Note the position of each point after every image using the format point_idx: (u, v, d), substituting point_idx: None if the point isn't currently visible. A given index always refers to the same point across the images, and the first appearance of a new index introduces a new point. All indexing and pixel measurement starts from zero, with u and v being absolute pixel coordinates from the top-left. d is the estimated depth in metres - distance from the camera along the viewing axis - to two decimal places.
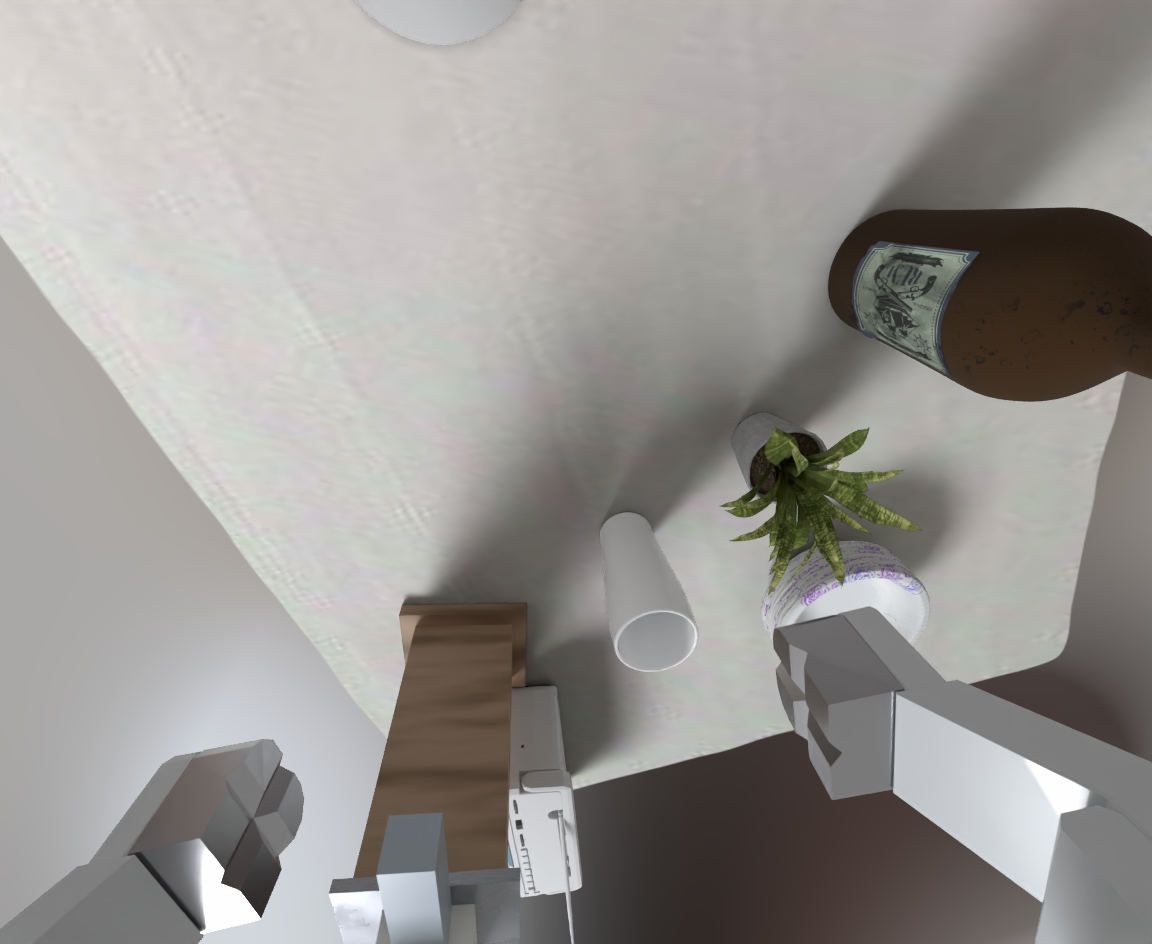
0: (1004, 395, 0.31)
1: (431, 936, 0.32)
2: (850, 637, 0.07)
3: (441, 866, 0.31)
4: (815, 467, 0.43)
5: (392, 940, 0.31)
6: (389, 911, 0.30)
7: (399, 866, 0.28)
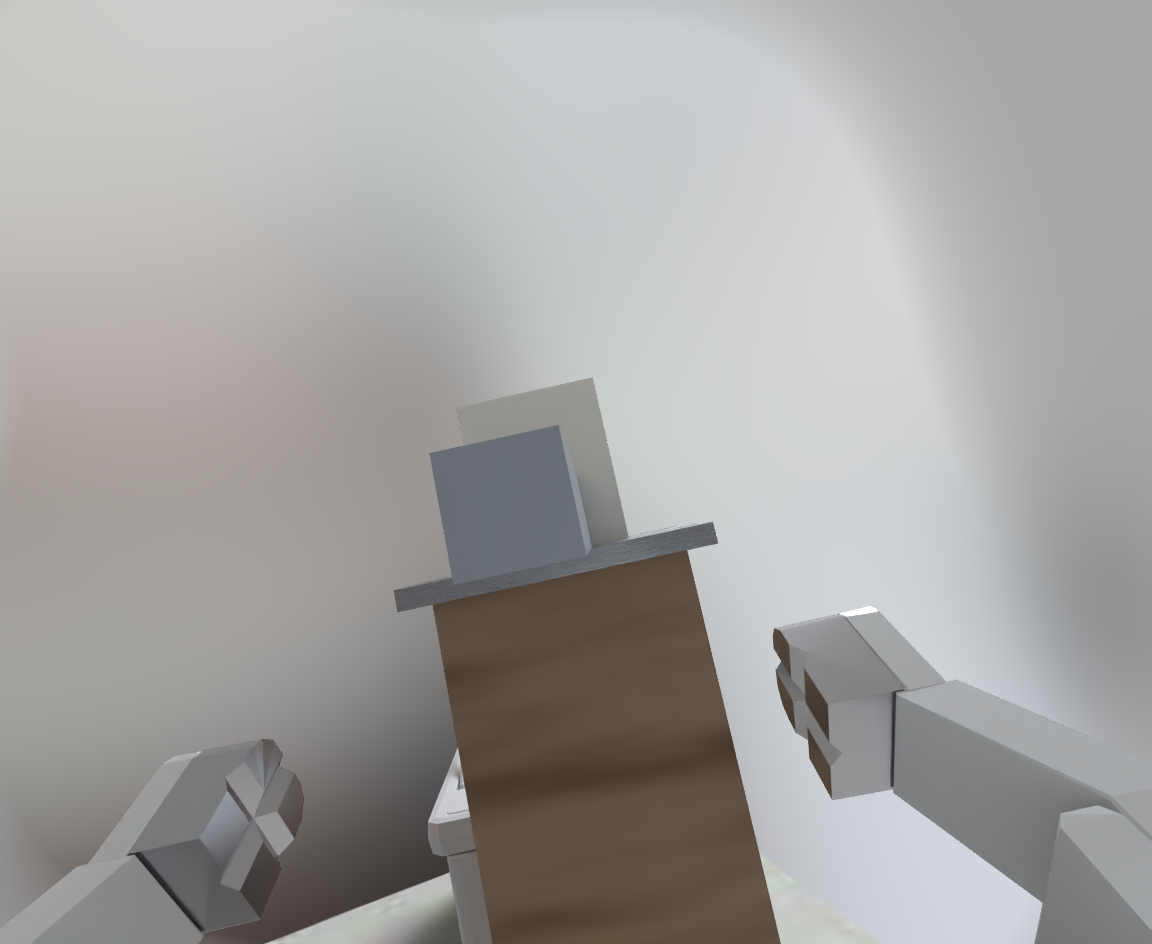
0: None
1: None
2: (850, 637, 0.07)
3: None
4: None
5: None
6: None
7: (512, 448, 0.12)
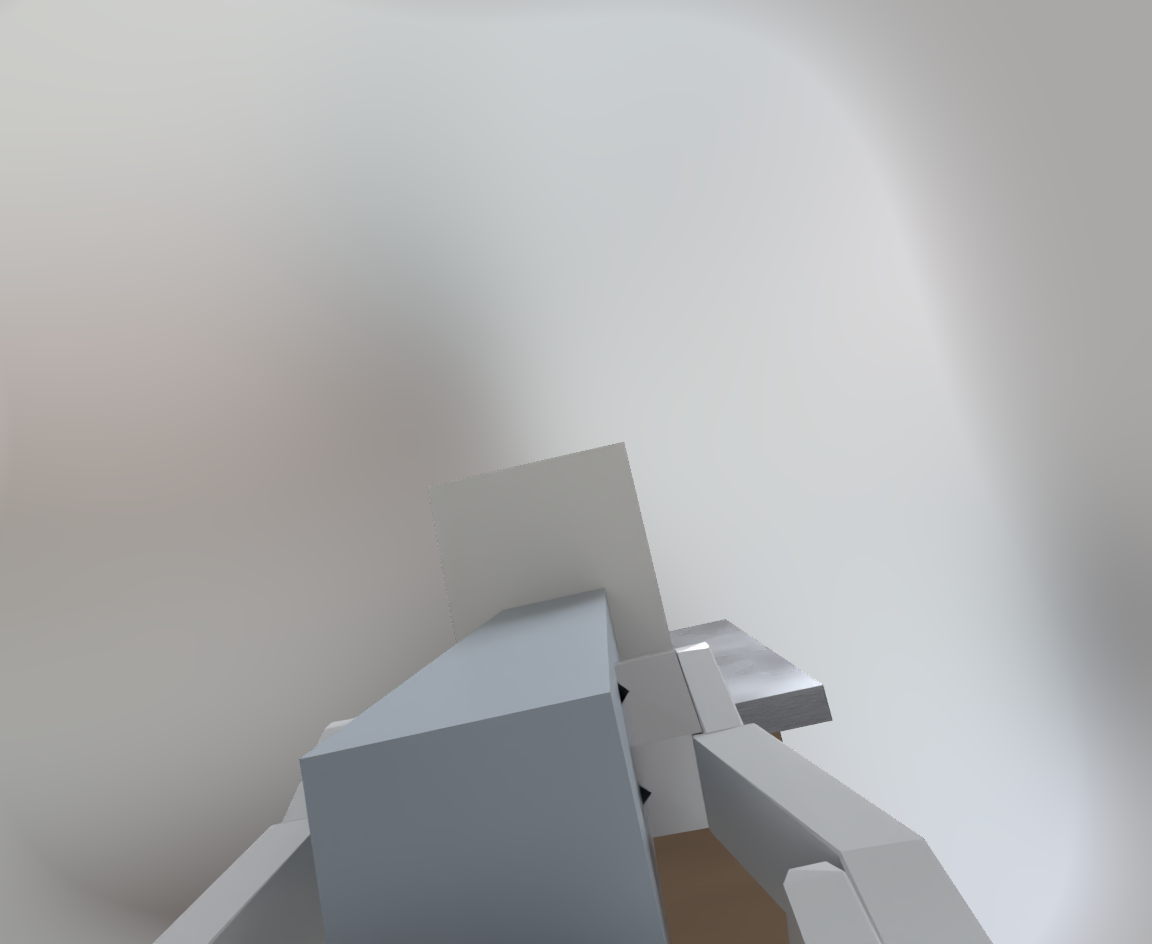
0: None
1: (502, 624, 0.12)
2: (673, 675, 0.08)
3: None
4: None
5: (600, 601, 0.12)
6: (589, 629, 0.09)
7: (498, 753, 0.05)
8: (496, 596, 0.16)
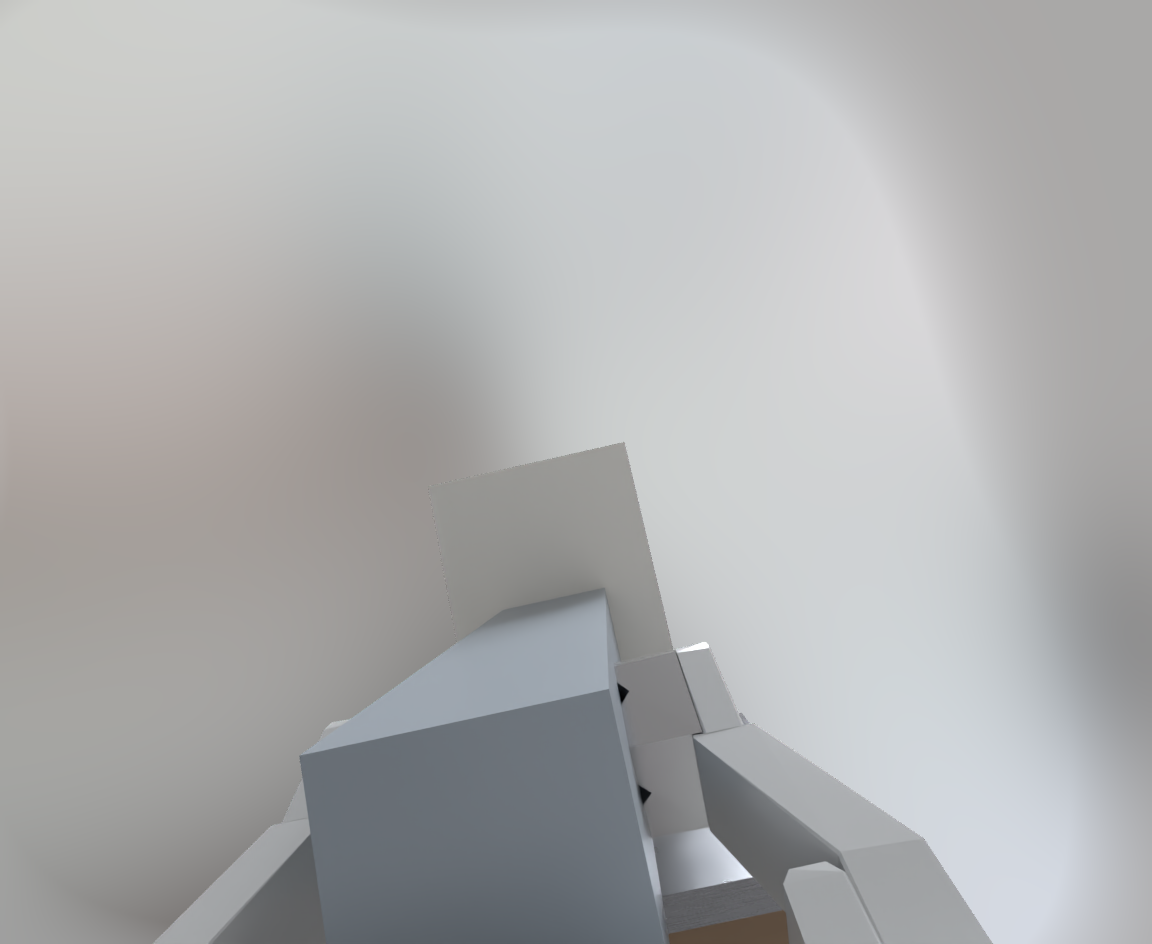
0: None
1: (502, 623, 0.12)
2: (673, 675, 0.08)
3: None
4: None
5: (600, 601, 0.12)
6: (589, 627, 0.09)
7: (497, 749, 0.05)
8: (496, 596, 0.16)
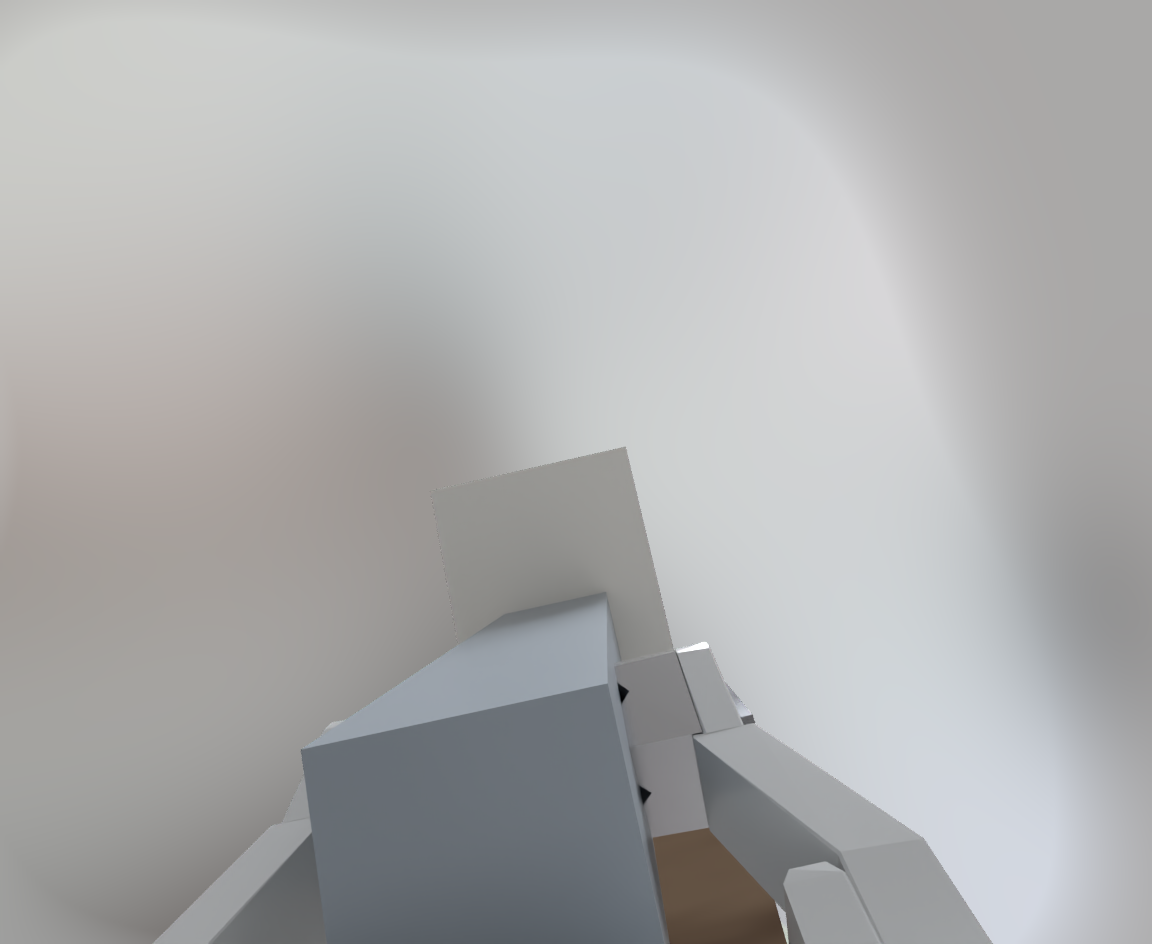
0: None
1: (503, 627, 0.12)
2: (673, 675, 0.08)
3: None
4: None
5: (601, 604, 0.12)
6: (590, 628, 0.09)
7: (498, 742, 0.05)
8: (498, 600, 0.16)
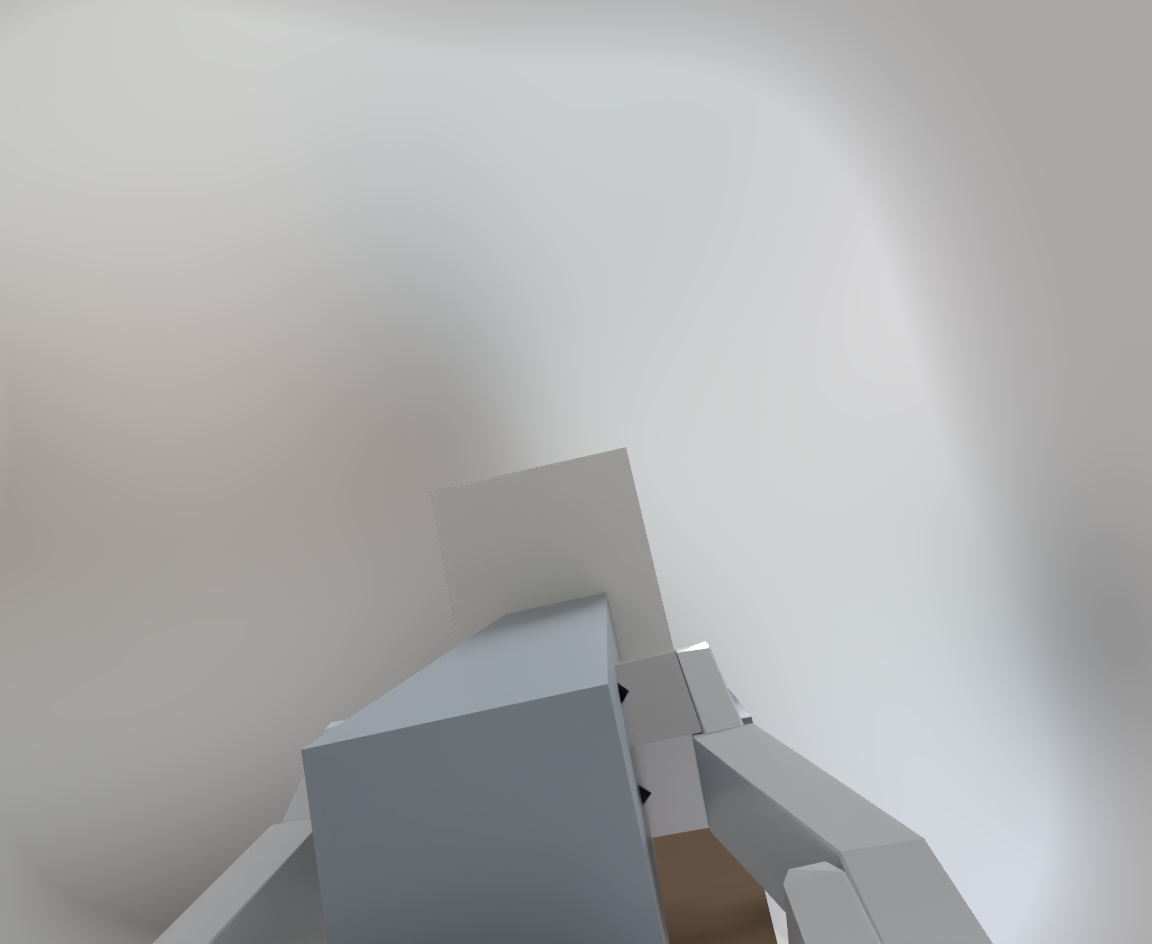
0: None
1: (504, 627, 0.12)
2: (673, 675, 0.08)
3: None
4: None
5: (601, 605, 0.12)
6: (590, 629, 0.09)
7: (497, 744, 0.05)
8: (498, 600, 0.16)
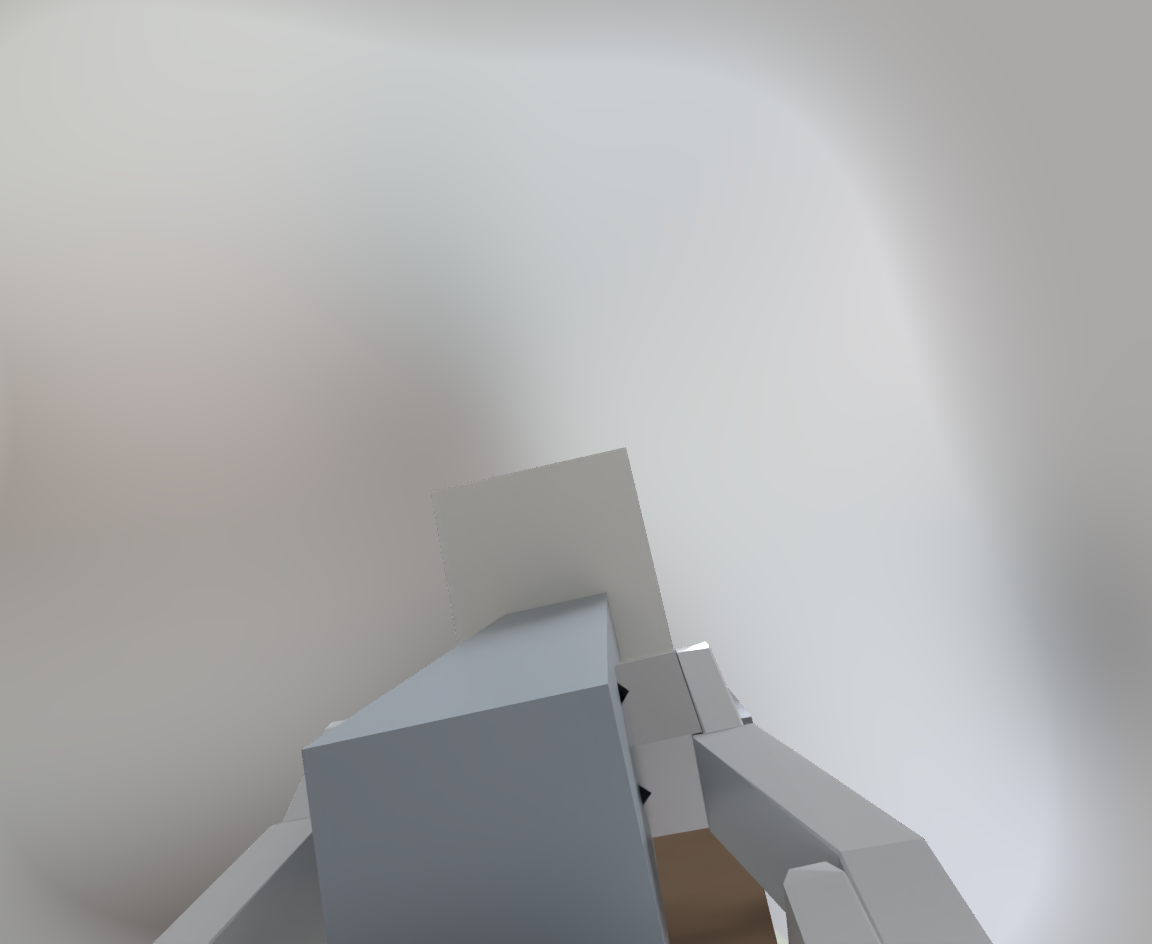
0: None
1: (504, 627, 0.12)
2: (673, 675, 0.08)
3: None
4: None
5: (601, 605, 0.12)
6: (590, 629, 0.09)
7: (497, 744, 0.05)
8: (498, 600, 0.16)
